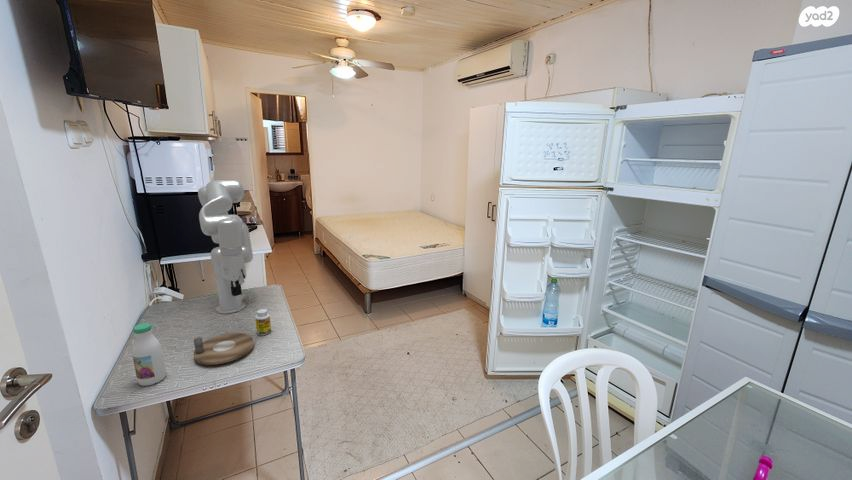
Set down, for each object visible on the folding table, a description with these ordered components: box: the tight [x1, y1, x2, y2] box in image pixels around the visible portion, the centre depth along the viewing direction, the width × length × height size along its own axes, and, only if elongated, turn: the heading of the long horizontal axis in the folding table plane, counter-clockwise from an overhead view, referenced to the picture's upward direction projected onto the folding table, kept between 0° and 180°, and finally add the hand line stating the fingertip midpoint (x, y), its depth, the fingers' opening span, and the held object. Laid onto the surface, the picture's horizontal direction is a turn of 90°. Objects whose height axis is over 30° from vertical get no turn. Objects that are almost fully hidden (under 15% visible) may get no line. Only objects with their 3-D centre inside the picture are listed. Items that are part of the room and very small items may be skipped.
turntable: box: [193, 332, 254, 366], centre depth 135 cm, size 20×20×7 cm
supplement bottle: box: [254, 308, 272, 336], centre depth 150 cm, size 6×6×10 cm
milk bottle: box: [131, 322, 167, 387], centre depth 117 cm, size 8×8×20 cm
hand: (236, 294), depth 140 cm, fingers closed
